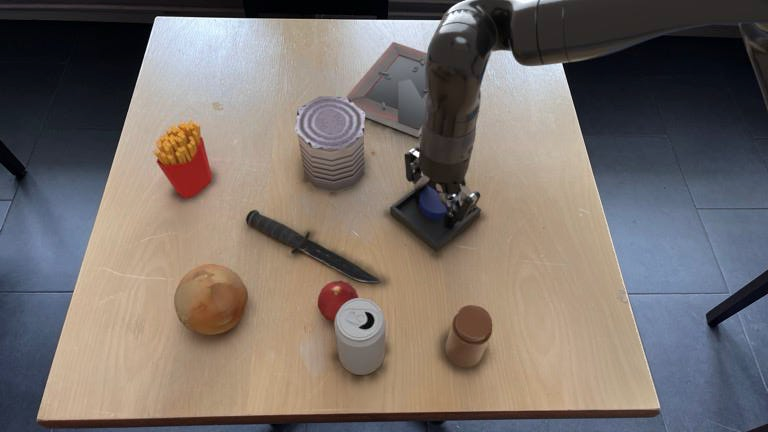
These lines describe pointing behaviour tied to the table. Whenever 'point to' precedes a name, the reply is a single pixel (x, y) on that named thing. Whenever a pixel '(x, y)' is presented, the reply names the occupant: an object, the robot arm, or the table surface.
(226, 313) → the onion
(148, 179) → the table surface
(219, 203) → the table surface
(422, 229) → the tray
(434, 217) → the lid
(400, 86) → the picture frame
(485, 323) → the jar
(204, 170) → the french fries
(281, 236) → the knife
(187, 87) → the table surface
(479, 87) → the robot arm
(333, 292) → the onion
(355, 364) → the beverage can
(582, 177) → the table surface
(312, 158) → the can
